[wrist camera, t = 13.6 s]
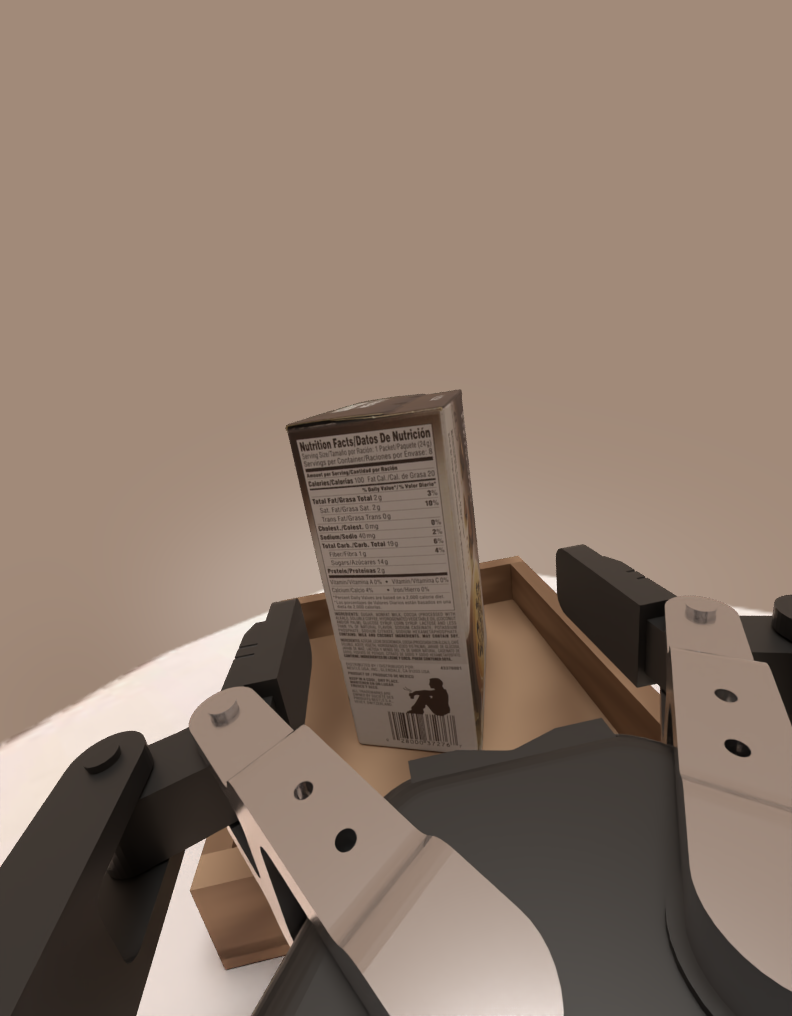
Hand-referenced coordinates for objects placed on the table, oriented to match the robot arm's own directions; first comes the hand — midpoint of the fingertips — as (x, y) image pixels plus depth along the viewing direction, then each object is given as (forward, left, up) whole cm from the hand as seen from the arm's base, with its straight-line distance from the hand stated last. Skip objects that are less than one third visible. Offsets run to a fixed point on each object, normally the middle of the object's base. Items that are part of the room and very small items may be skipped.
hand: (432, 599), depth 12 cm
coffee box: (0, +8, -11) cm, 14 cm away
